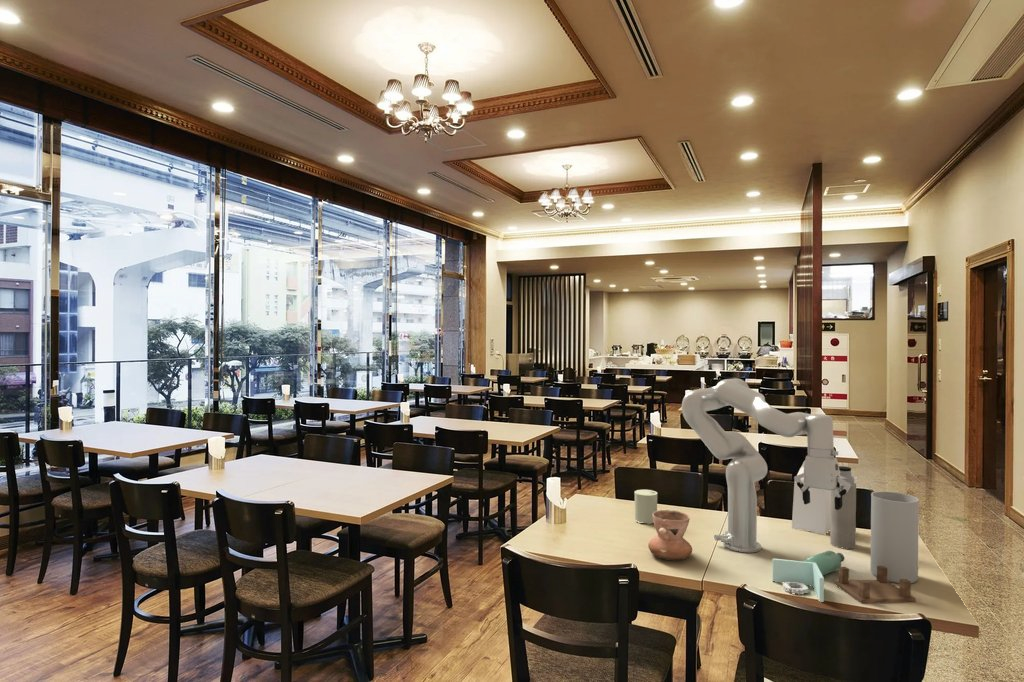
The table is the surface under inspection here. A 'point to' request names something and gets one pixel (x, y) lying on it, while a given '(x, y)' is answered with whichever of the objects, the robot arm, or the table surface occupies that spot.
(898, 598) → the rest
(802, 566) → the right angle wall
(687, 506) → the table surface
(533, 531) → the table surface
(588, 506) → the table surface
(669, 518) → the ceramic jug
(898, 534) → the cylinder vase
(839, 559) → the bottle
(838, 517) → the thermos bottle
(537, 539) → the table surface
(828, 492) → the milk
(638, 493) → the can
